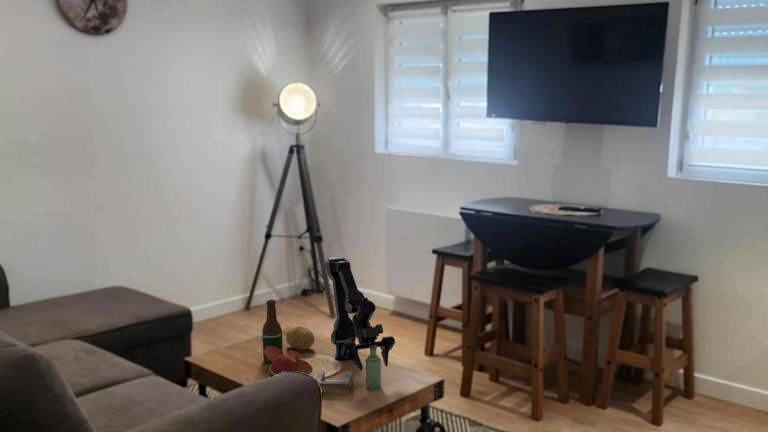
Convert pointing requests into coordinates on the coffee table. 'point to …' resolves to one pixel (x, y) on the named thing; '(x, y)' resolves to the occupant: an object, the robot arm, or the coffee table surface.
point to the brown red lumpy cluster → (286, 361)
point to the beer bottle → (271, 330)
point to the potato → (300, 338)
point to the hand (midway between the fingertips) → (374, 368)
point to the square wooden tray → (335, 384)
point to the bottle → (373, 370)
